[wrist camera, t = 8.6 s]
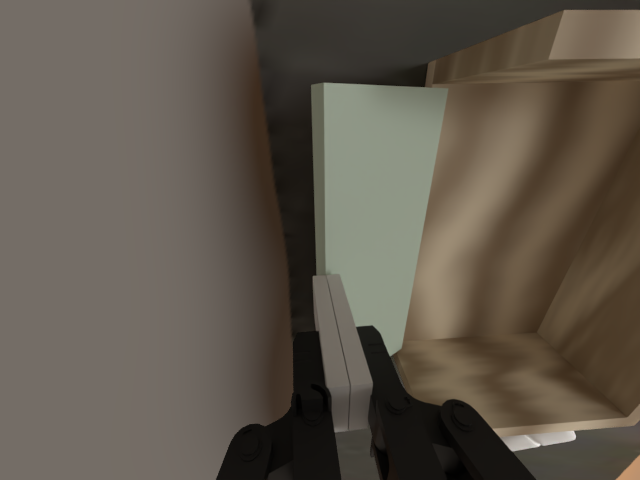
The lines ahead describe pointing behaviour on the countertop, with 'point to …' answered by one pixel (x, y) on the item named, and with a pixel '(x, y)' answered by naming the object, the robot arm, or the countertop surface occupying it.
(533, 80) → the box
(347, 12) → the countertop surface
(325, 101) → the pale green panel
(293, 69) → the countertop surface
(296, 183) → the countertop surface
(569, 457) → the countertop surface
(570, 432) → the unicorn horn
